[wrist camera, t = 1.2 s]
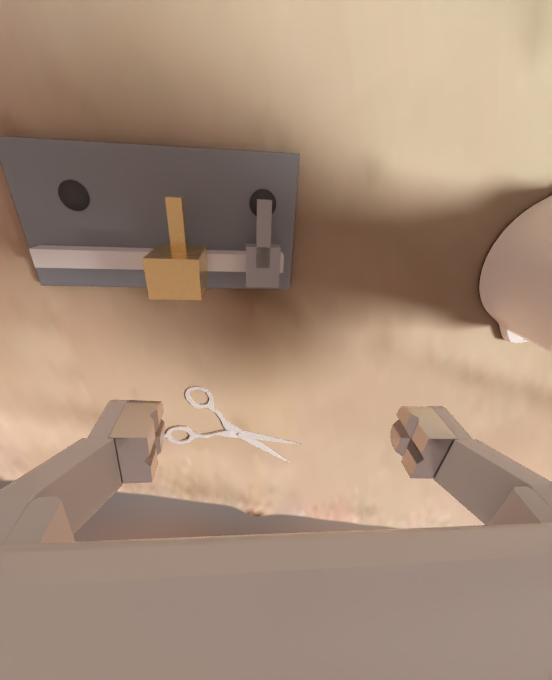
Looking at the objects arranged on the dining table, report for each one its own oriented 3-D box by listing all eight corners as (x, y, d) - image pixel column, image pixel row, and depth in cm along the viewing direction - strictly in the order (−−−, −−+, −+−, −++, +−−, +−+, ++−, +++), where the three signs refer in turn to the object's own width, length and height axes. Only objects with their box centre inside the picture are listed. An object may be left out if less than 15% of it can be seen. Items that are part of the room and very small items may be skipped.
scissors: (178, 379, 37) (317, 431, 43) (179, 375, 38) (316, 427, 43) (149, 438, 41) (279, 478, 47) (150, 434, 42) (279, 473, 47)
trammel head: (204, 195, 26) (194, 202, 21) (209, 277, 30) (201, 300, 24) (156, 193, 26) (132, 199, 20) (166, 276, 29) (149, 299, 24)
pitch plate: (297, 154, 27) (305, 151, 23) (288, 286, 33) (293, 300, 29) (0, 136, 25) (-40, 131, 21) (47, 282, 30) (21, 296, 27)
